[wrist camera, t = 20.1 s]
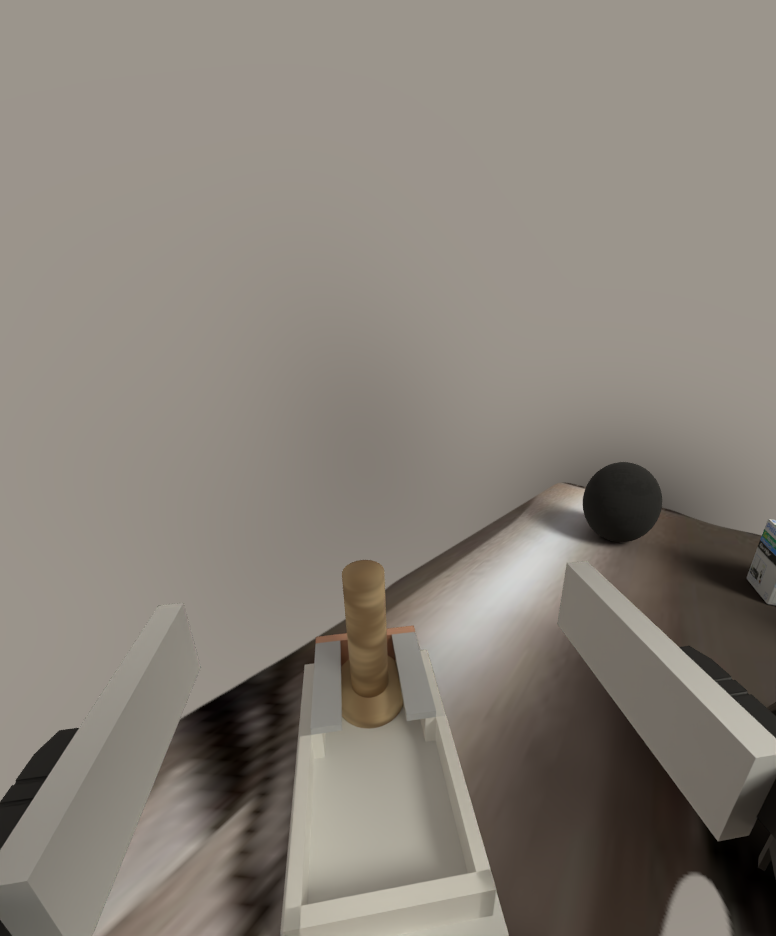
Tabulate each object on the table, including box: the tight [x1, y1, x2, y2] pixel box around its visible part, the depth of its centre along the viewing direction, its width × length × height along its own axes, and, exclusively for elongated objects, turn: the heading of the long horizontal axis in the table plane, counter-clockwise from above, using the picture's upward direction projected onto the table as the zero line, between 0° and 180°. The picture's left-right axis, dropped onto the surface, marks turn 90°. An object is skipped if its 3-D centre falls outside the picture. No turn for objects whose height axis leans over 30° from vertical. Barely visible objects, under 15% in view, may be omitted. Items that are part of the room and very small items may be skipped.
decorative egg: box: [583, 462, 662, 542], centre depth 70 cm, size 12×12×15 cm
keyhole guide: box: [280, 626, 509, 936], centre depth 35 cm, size 15×24×5 cm, turn 7°
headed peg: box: [341, 560, 404, 729], centre depth 39 cm, size 8×8×16 cm
